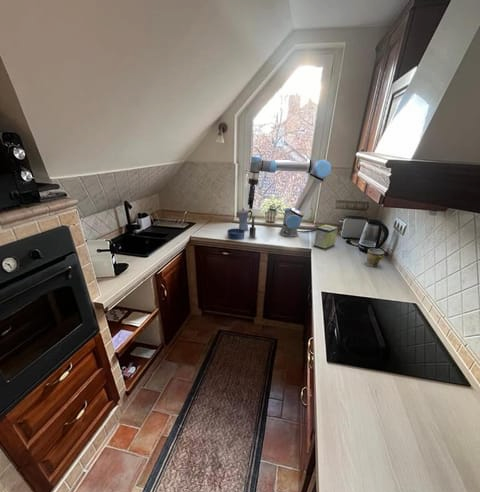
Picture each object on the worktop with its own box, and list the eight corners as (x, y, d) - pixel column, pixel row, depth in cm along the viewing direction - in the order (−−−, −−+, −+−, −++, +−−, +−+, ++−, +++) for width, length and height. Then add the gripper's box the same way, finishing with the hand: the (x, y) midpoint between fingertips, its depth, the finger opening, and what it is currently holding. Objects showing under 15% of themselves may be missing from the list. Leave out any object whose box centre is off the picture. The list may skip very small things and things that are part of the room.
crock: (254, 237, 219) (255, 226, 214) (255, 239, 214) (256, 228, 210) (248, 237, 218) (249, 227, 214) (249, 239, 214) (250, 228, 209)
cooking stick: (253, 236, 217) (254, 215, 208) (253, 237, 215) (254, 216, 206) (250, 237, 216) (252, 215, 207) (251, 237, 215) (252, 216, 206)
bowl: (242, 235, 223) (243, 228, 220) (245, 240, 210) (245, 233, 207) (226, 235, 221) (226, 228, 218) (228, 241, 209) (228, 233, 206)
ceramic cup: (361, 261, 180) (365, 248, 175) (374, 261, 181) (378, 248, 176) (370, 269, 169) (375, 256, 164) (385, 269, 170) (390, 255, 165)
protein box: (334, 245, 206) (338, 226, 198) (324, 250, 197) (329, 230, 189) (322, 242, 213) (326, 224, 205) (313, 246, 203) (316, 227, 195)
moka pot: (234, 229, 235) (234, 207, 225) (248, 228, 241) (249, 206, 231) (238, 232, 228) (238, 210, 218) (253, 231, 234) (254, 208, 224)
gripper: (247, 175, 205) (244, 202, 216) (250, 180, 184) (246, 210, 194) (256, 177, 206) (253, 203, 216) (260, 181, 184) (256, 211, 195)
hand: (249, 206), depth 205 cm, fingers open, 13 cm apart
